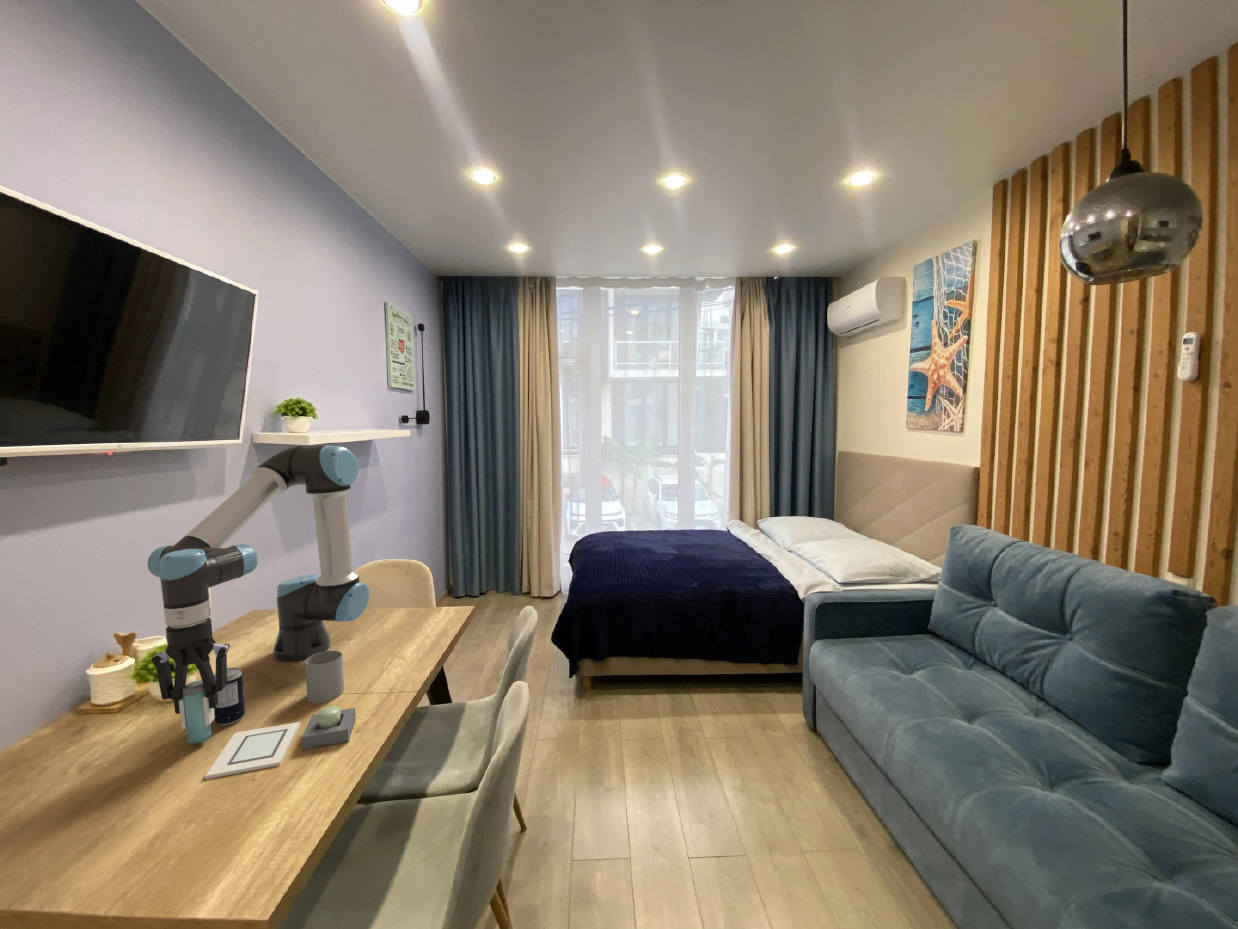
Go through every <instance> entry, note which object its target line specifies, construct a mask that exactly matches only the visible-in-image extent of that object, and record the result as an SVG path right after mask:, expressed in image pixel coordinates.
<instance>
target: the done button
mask: <svg viewBox="0 0 1238 929" xmlns="http://www.w3.org/2000/svg"><path fill="white" fill-rule="evenodd" d="M340 710H341V707H340V706H328V707H325V708H323V709H320V710H319V712H318V713H317V714H318V725H319V729H324V728H330V727H336V726H339V725H340V724H341V716H340Z"/></svg>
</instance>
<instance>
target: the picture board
mask: <svg viewBox="0 0 1238 929" xmlns="http://www.w3.org/2000/svg"><path fill="white" fill-rule="evenodd" d="M301 724H302V723H301V721H298V722H290V723H284V724H279V725H272V726H267V727H262V728H256V729H255V728H254V729H250V730H245V731H238V732H234V733H233V735H232V736H231V738H230V739H229V740H228V742H227V743H226V745H225V747H224V748H223V749H222V751H221V752H220V753H219V755H218V756H217V758H216V759H215V761H214V762H213V763H212V765H211V766H210V767H209V769H208V770H207V772H206V773H205V775H204V779H205V780H210V779H215V778H218V777H224V776H229V775H235V774H241V773H245V772H247V773H248V772H251V771H257V770H262V769H267V768H273V767H277V766H281V765H282V762H283V761H284V759H285V758H286V755H287V753H288V751H289V749H290V747H291V744H292V743H293V741H294V739H295V737H296V735H297V733H298V731H299V729H300V727H301Z"/></svg>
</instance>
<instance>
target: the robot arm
mask: <svg viewBox="0 0 1238 929" xmlns="http://www.w3.org/2000/svg"><path fill="white" fill-rule="evenodd" d="M358 475H359V465H358V461H357V459H356V456H355V455H354V453H353V452H351V451H350V449H349V448H347V447H345V446H340V445H338V446H337V445H331V444H329V445H328V444H327V445H326V444H325V445H322V444H321V445H294V446H289V447H287V448H284V449H283V450H280V451H279V452H277V453H275V454H273V455H271V456H270V457H269V458H267V459H266V460H264V461H263V462H262V463H261V464H259V465H258V466H257V467H256V468H254V470H253V471H252V473H251V478H249V479H248V480H247V481H246V482H244V483H243V484H242V485H241V486H240V487H239V488H238V489H237V490H235V491H234V492H233V493H232V494H231V495H230V496H229V497H228V498H225V500H224V501H223V502H222V503H220V505H218V506H217V507H216V508H215V509H214V510H213V511H212V512H210V513H209V514H208V515H207V516H205V517H204V518H203V519H202V520H201V521H200V522H199V523H198V524H196V526H195V527H193V528H192V529H191V530H190V531H189V532H188V533H186V534H185V535H184V536H183V537H182V538H181V539H180V540H178V541H177V542H176V543H175V544H173V545H165V546H161V547H158V548H156V549H154V550H153V551H152V552H151V554H150V555H149V557H148V558H147V570H148V572H150V574H151V575H153V576H155V577H156V578H157V577H158V578H159V581H160V587H161V594H162V595H161V596H162V601H163V602H162V603H163V604H162V605H163V613H164V624H165V625H166V628H165V635H166V643H167V647H166V649H165V651H159V652H158V653H156V654H155V655H154V656H153V657H152V658H151V659H150V661H151V662H152V664H153V666H155V668H156V669H155V670H156V674H157V679H158V680H157V681H158V684H159V691H160V695H161V699H162V700H165V701H166V700H172V701H173V706H174V713H175V714H176V715H179V718H180V727H181V730H187V725H186V716H185V706H184V697H183V690H182V688H183V687H184V686H185V685H187V678H188V677H187V676H188V670H189V665H195V667H196V669H197V670H198V673H199V676H200V678H201V680H202V682H203V685H204V688H205V691H206V695H205V696H204V697H203V707H204V718H205V726H206V725H210V724H212V722H213V721H215V713H214V708H215V707H216V705H217V704H218V695H217V692H218V691H222V689H223V688H224V687H225V686H226V685H227V668H228V652H229V649H230V646H231V645H230V644H229V643H224V644H220V643H217V642H216V640H215V639H214V638H213V625H212V619H211V616H212V615H211V613H212V612H211V605H210V589H209V588H213V587H215V586H218V585H221V584H224V583H227V582H229V581H233V580H235V579H239V578H242V577H244V576H246V575H248V574H250V573H252V572H253V571H254V570H256V568H257V566H258V555H257V552H256V551H255V549H254V548H253V547H252V546H250V545H248V544H245V543H244V544H243V543H241V544H237V545H233V544H232V545H231V546H228V547H223V546H224V545H225V544H226V543H227V542H228V541H229V540H230V539H231V538H233V536H234V535H236V534H237V533H238V532H239V531H240V530H241V529H242V528H243V527H244V526H245V525H246V524H247V523H248V522H249V521H250V520H252V518H253V517H254V516H255V515H256V514H257V513H258V512H259V511H261V509H263V508H264V506H265V505H267V504H268V502H270V501H271V500H272V499H273V498H274V497H275V496H276V495H280V494H283V493H285V492H286V491H287V490H288V489H289V488H291V487H293V486H298V485H305V494H307V495H308V496H310V497H311V498H312V503H313V509H314V510H313V511H314V512H313V513H314V519H315V520H314V521H315V531H316V532H315V533H316V540H317V542H316V543H317V549H318V558H319V569H320V574H317V573H313V574H307V575H301V576H296V577H294V578H293V577H292V578H290V579H287V580H284V581H282V582H281V583H279V584H278V585H277V591H276V592H277V593H276V594H277V595H276V604H277V616H278V628H279V629H278V634H277V636H276V638H275V639H276V640H275V642H274V646H273V657H274V659H275V660H278V661H283V662H286V661H287V662H292V661H300V660H304V659H305V660H306V659H307V658H308V657H310V656H312V655H314V654H317V653H320V652H324V651H328V649H329V648H330V646H331V637H330V635H329V633H328V630H327V628H326V626H325V623H324V621H325V622H337V623H343V622H353V621H355V620H357V619H358V618H359V617H361V616H362V614H363V613H364V611H365V610H366V608H367V606H368V604H369V601H370V600H369V599H370V588H369V586H368V585H367V584H366V583H364V582H362V581H361V582H360V575H359V572H357V571H355V570H354V569H353V566H354V565H353V557H352V548H351V547H352V546H351V536H350V535H351V534H350V525H349V515H348V504H347V503H348V502H347V494H348V493H349V491H351V489H352V488H351V485H352V484H353V483H355V481H356V480H357V476H358ZM213 651H214V656H216V657H215V673H214V672H213V668H212V665H211V661H210V660H211V658H210V654H211V652H213ZM170 658H171V659H172V660H173V661H174V662H175V668H174V671H175V675H174V681H173V675H172V671H171V664H170V661H169V659H170ZM215 674H216V680H215V677H214V675H215Z"/></svg>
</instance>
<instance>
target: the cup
mask: <svg viewBox="0 0 1238 929" xmlns="http://www.w3.org/2000/svg"><path fill="white" fill-rule="evenodd" d="M343 656H344V655H343V652H342V651H339V650H325V651H324V652H320V653H317V654H314V655H312V656H310V657H308V658H305V661H304V663H305V664H304V666H305V682H306V686H305V687H306V699H307V701H308V702H309V703H311V704H322V703H326V702H330V701H333V700H335V699H338V698H339V697H340V696H341V695H343V693H344V691H345V682H344V680H345V678H344V660H343Z"/></svg>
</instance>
